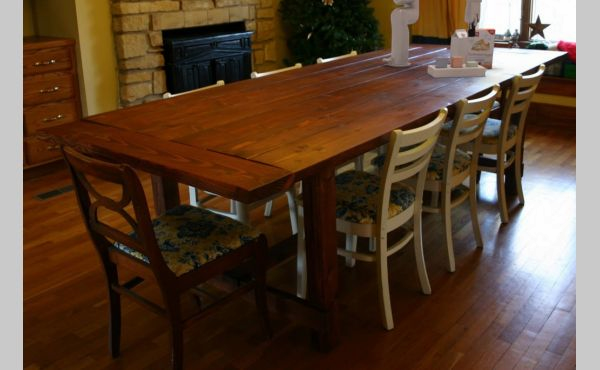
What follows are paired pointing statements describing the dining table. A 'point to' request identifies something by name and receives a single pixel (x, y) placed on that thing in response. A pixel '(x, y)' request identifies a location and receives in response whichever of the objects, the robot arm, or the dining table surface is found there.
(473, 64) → the key sage
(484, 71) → the white rectangular tray
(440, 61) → the key slate
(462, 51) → the milk carton
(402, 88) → the dining table surface
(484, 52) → the cracker box
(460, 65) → the key terracotta
